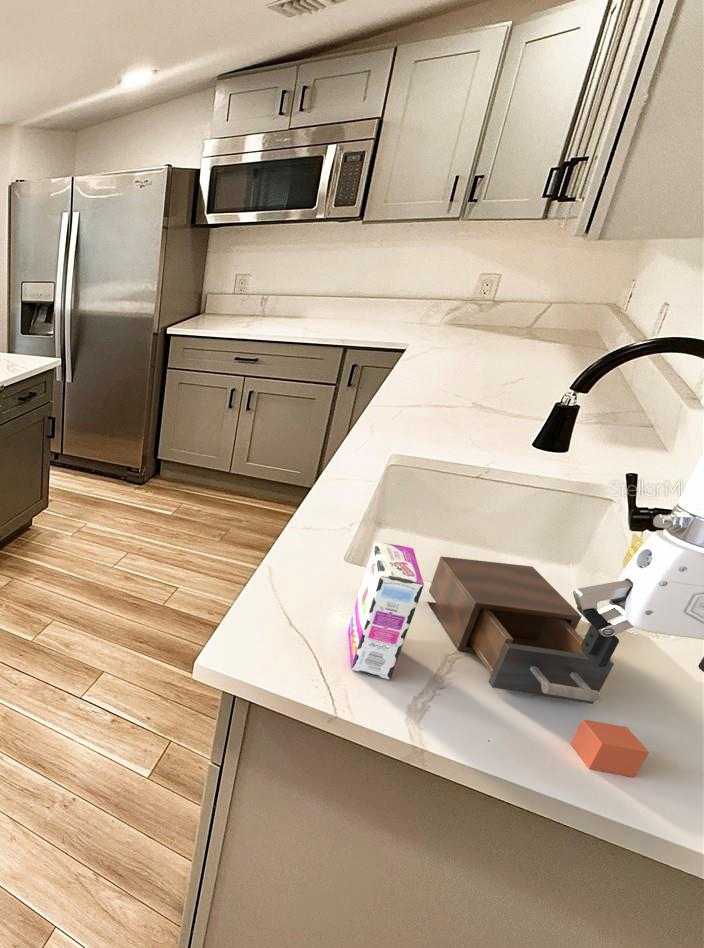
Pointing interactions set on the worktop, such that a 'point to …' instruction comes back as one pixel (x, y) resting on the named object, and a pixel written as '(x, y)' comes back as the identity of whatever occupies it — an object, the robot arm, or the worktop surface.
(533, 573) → the cabinet
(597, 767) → the block
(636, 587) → the robot arm
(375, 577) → the candy bar box
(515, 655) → the drawer
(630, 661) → the worktop surface
